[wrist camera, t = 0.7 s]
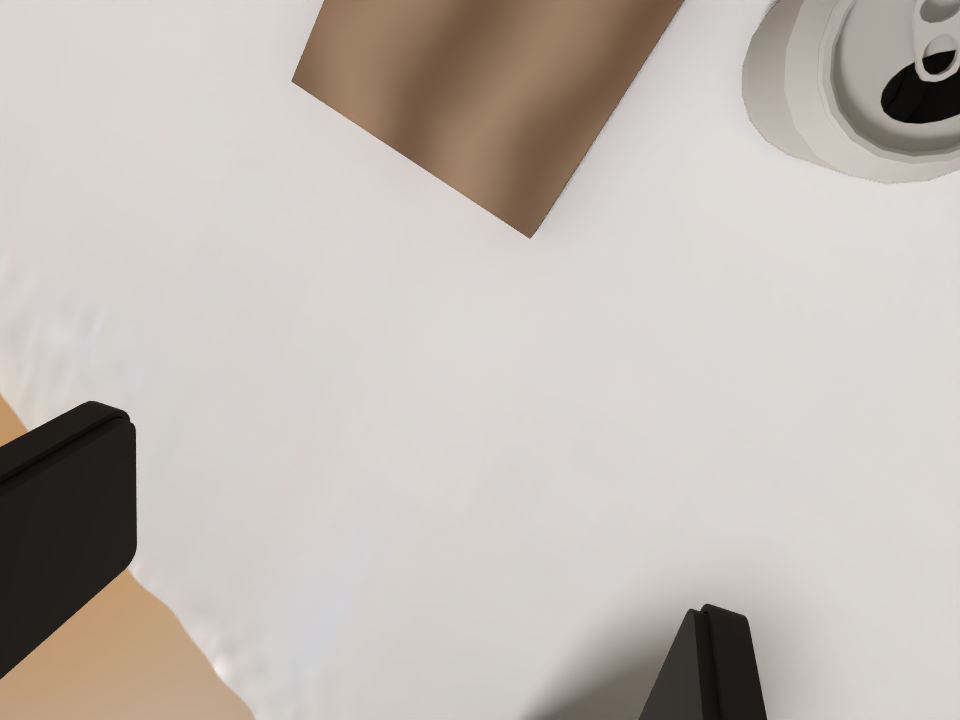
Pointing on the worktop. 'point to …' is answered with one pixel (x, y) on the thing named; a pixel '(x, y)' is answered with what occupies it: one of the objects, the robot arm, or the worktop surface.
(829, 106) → the can
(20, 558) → the robot arm
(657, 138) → the worktop surface
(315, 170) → the worktop surface
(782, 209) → the worktop surface
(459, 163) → the walnut board
